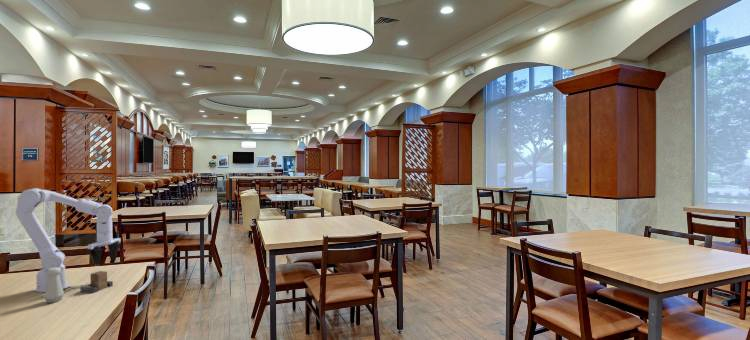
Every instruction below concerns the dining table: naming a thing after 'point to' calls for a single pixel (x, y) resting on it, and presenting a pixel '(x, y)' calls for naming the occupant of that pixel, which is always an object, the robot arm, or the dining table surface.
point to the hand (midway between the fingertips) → (105, 261)
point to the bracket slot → (93, 287)
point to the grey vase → (53, 286)
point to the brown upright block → (99, 280)
